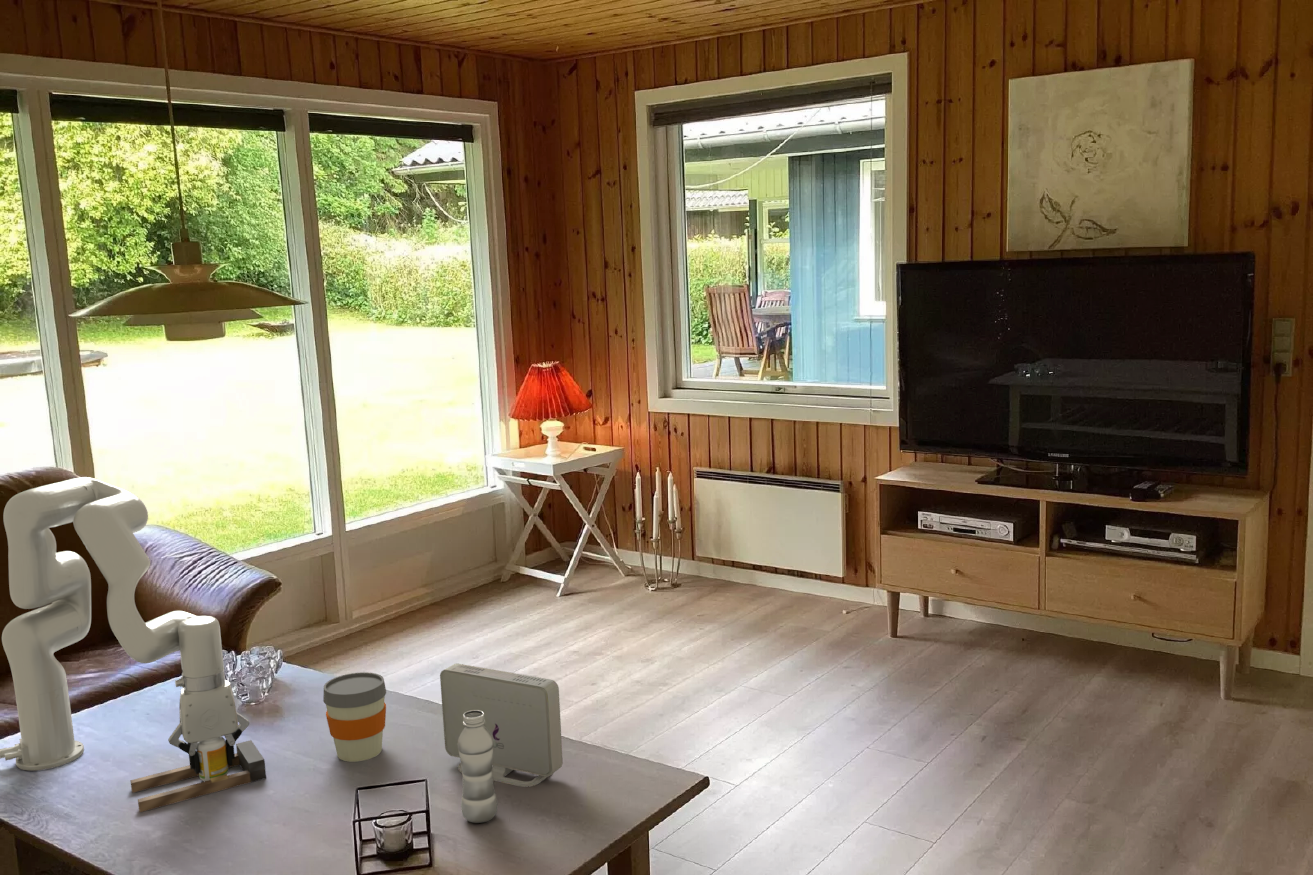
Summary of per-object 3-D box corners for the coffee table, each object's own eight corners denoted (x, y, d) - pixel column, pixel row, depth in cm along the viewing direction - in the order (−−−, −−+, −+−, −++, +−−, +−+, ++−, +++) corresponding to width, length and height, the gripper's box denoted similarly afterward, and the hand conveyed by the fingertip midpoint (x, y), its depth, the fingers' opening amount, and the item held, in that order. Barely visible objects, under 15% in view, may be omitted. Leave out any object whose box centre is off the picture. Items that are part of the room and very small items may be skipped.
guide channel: (140, 812, 209) (137, 792, 209) (131, 789, 219) (129, 770, 218) (266, 778, 221) (264, 759, 221) (253, 758, 231) (251, 740, 230)
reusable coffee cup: (399, 754, 230) (393, 685, 227) (338, 771, 223) (332, 700, 221) (379, 734, 240) (374, 667, 238) (320, 749, 234) (314, 681, 231)
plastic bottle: (481, 806, 207) (474, 703, 204) (506, 816, 203) (499, 712, 199) (454, 820, 202) (446, 715, 199) (479, 831, 198) (472, 724, 194)
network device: (439, 768, 223) (432, 672, 220) (465, 750, 231) (459, 657, 228) (546, 792, 211) (541, 692, 208) (571, 773, 219) (566, 675, 216)
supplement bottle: (233, 769, 224) (228, 724, 222) (220, 782, 219) (215, 735, 217) (207, 769, 224) (203, 723, 223) (194, 782, 219) (189, 735, 217)
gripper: (160, 696, 211) (170, 786, 214) (254, 675, 220) (262, 762, 223) (153, 684, 217) (163, 772, 220) (245, 664, 226) (253, 749, 229)
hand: (213, 766), depth 221 cm, fingers closed on supplement bottle, 5 cm apart
